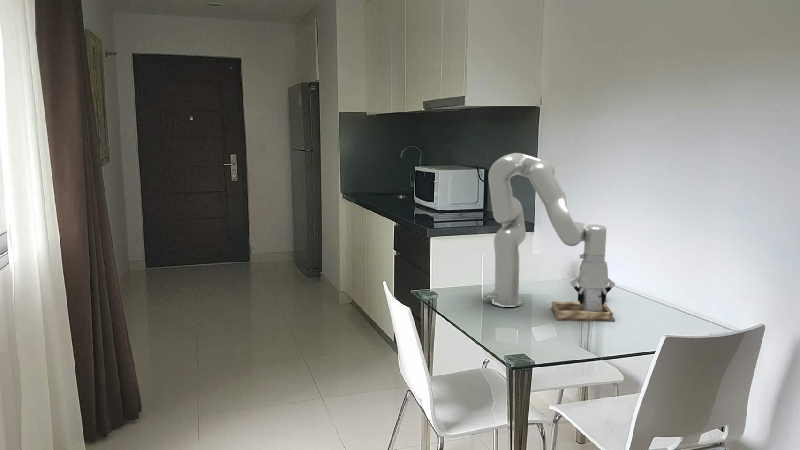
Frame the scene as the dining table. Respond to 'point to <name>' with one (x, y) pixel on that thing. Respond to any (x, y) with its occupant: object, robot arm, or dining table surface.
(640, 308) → the dining table surface
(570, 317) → the wooden tray
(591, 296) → the skincare box
